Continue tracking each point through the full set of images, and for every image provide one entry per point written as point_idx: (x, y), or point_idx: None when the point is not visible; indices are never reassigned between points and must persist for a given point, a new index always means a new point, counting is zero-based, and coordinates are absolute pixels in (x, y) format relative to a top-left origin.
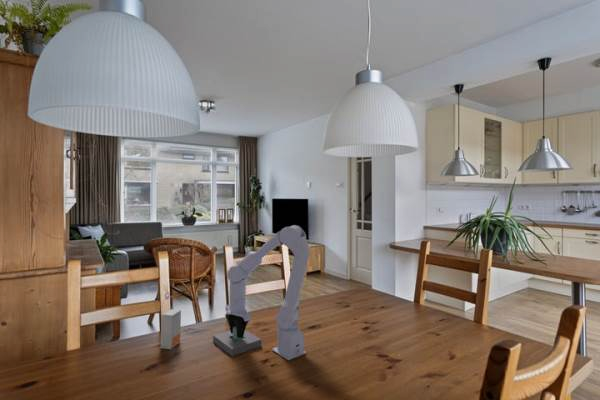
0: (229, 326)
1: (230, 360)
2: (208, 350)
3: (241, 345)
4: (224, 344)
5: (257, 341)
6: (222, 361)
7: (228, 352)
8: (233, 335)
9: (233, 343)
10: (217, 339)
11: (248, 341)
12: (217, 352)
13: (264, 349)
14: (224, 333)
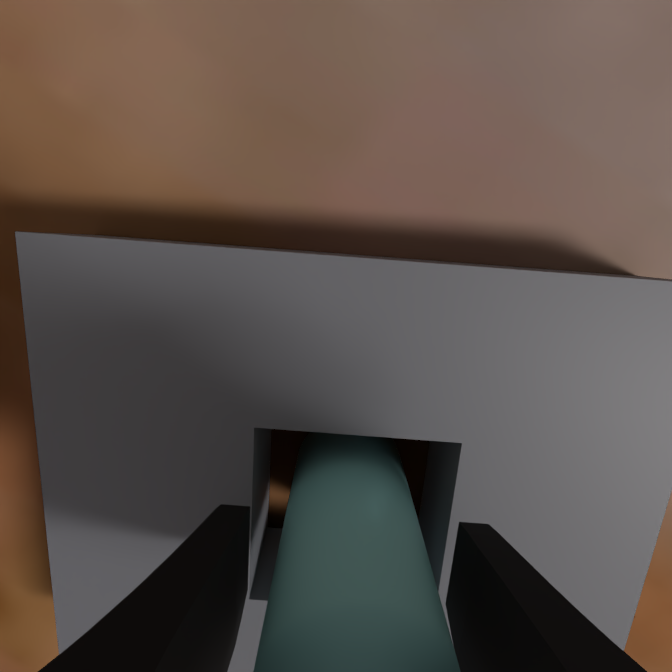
0: (583, 620)
1: (3, 160)
2: (464, 79)
3: (44, 418)
4: (282, 251)
5: (65, 641)
6: (36, 56)
7: (173, 241)
8: (350, 496)
9: (184, 366)
10: (546, 272)
11: (107, 561)
12: (318, 150)
13: (32, 597)
14: (626, 467)
